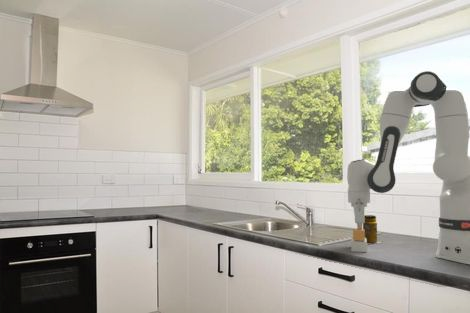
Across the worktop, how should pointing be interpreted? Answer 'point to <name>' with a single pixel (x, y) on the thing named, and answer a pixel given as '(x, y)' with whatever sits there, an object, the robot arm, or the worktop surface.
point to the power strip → (358, 245)
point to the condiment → (370, 229)
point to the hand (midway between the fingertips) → (359, 231)
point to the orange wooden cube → (359, 234)
